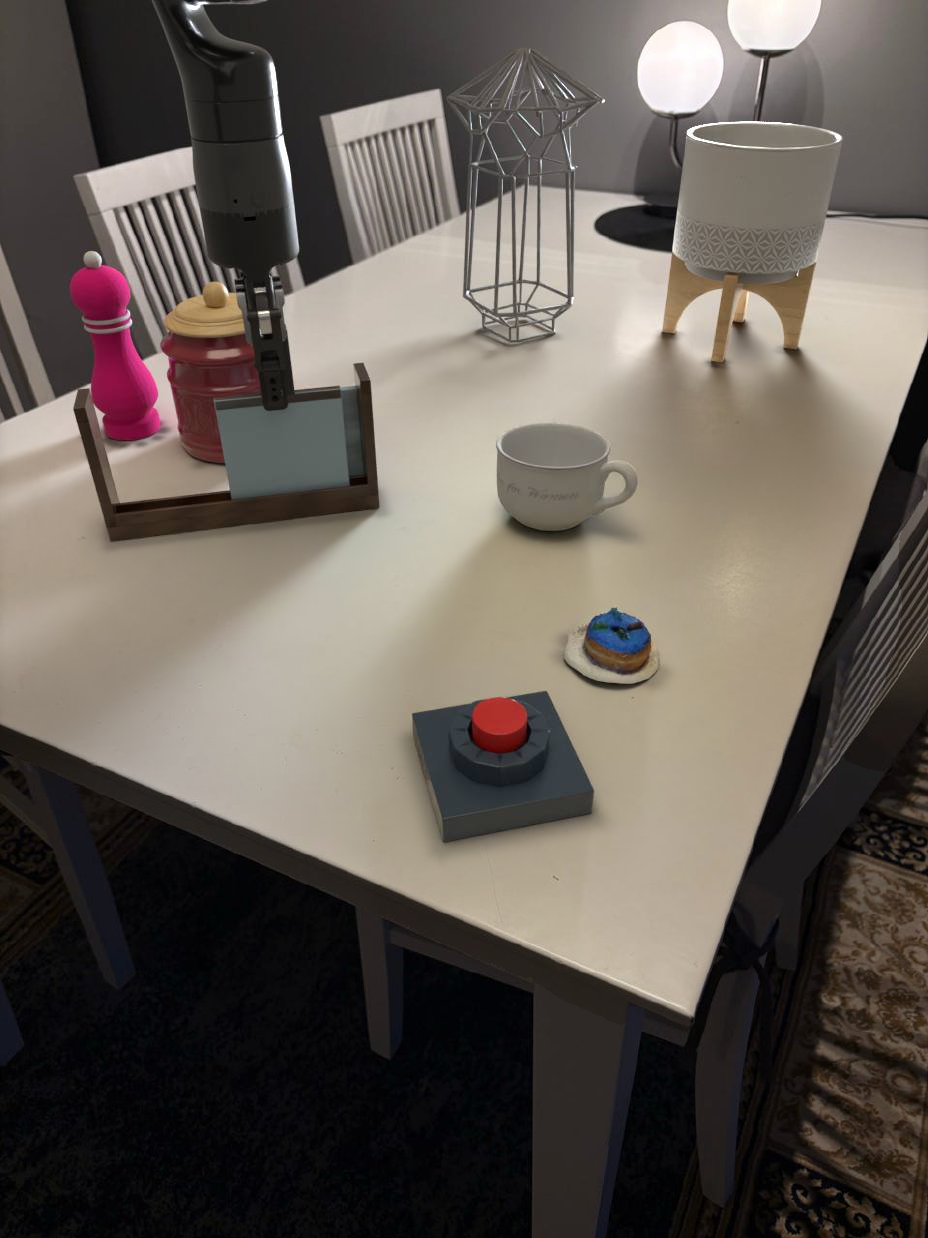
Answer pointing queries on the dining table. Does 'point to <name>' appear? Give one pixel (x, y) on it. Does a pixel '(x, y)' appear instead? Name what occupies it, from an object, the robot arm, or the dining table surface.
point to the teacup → (557, 475)
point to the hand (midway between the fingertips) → (274, 397)
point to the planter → (750, 221)
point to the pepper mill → (114, 353)
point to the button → (499, 725)
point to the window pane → (283, 440)
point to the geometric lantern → (532, 65)
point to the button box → (500, 771)
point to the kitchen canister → (207, 365)
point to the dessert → (613, 649)
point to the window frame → (219, 505)
